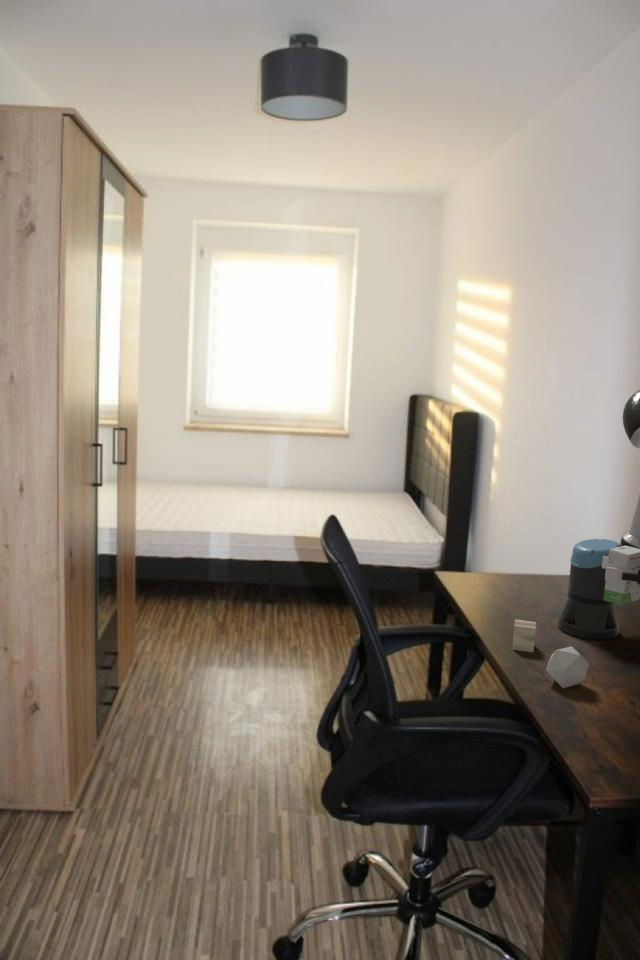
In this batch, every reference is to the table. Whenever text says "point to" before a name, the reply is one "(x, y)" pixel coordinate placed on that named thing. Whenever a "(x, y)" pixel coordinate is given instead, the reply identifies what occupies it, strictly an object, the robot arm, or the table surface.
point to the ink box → (617, 589)
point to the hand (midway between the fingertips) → (604, 567)
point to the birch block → (524, 635)
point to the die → (567, 667)
